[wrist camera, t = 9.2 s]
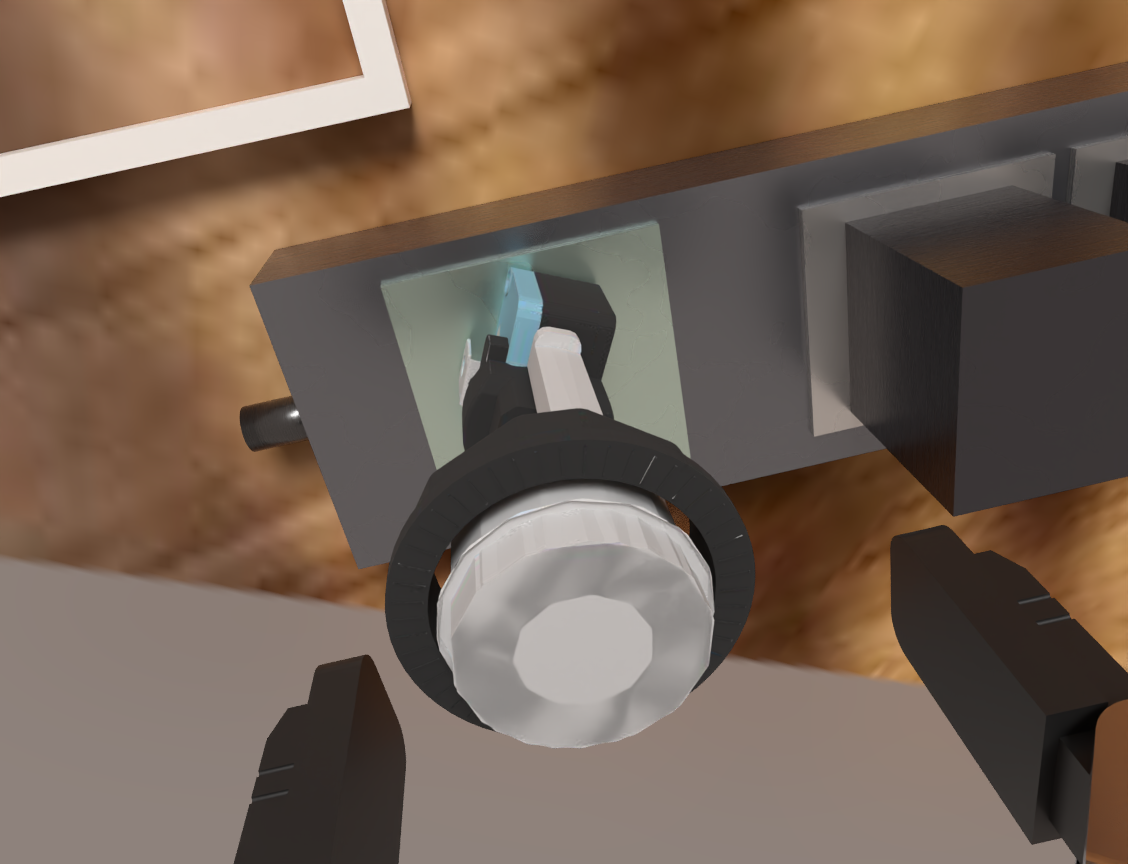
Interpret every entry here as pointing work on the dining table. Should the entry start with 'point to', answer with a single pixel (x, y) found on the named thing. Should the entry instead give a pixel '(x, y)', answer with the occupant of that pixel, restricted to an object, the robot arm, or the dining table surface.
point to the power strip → (759, 308)
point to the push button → (563, 543)
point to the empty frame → (227, 117)
